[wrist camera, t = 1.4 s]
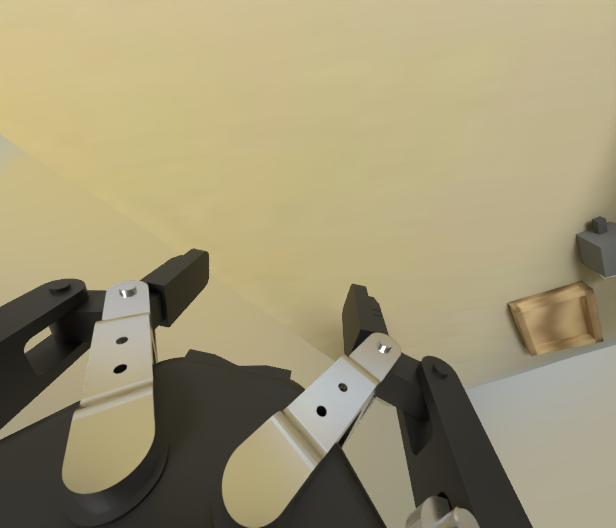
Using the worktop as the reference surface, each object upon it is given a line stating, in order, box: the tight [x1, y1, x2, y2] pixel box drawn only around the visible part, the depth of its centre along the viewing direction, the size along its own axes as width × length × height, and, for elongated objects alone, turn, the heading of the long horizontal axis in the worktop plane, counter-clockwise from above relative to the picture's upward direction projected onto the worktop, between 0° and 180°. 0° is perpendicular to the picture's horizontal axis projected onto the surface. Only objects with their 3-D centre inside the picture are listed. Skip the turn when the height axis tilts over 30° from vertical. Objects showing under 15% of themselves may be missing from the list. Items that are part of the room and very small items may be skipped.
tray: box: [508, 281, 603, 356], centre depth 44 cm, size 11×14×2 cm
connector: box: [576, 217, 616, 279], centre depth 35 cm, size 4×11×4 cm, turn 36°
